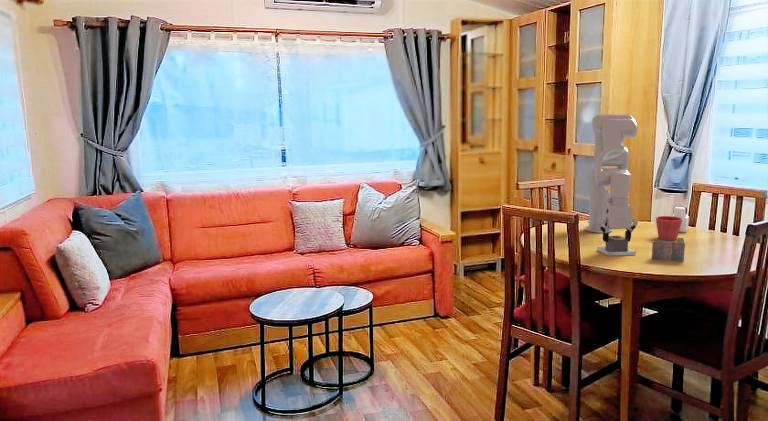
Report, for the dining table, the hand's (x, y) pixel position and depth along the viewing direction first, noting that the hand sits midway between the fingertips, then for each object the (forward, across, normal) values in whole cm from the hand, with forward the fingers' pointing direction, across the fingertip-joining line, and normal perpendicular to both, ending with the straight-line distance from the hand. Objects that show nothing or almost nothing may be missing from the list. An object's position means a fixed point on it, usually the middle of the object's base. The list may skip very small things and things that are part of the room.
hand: (616, 241), depth 242 cm
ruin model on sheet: (+5, +14, -14) cm, 21 cm away
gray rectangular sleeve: (+3, 0, 0) cm, 3 cm away
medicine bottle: (+6, +53, +38) cm, 65 cm away
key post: (+5, 0, 0) cm, 5 cm away
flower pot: (+5, +37, +22) cm, 43 cm away
